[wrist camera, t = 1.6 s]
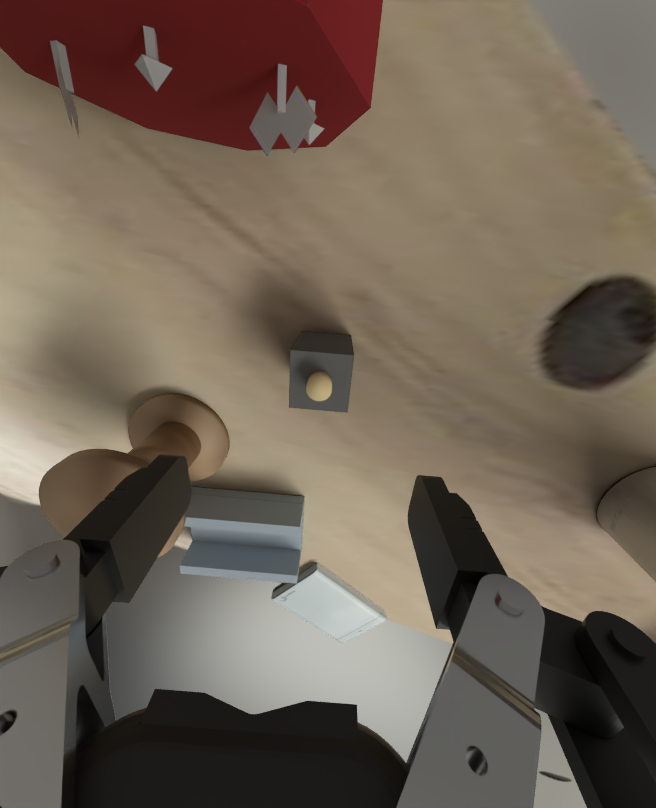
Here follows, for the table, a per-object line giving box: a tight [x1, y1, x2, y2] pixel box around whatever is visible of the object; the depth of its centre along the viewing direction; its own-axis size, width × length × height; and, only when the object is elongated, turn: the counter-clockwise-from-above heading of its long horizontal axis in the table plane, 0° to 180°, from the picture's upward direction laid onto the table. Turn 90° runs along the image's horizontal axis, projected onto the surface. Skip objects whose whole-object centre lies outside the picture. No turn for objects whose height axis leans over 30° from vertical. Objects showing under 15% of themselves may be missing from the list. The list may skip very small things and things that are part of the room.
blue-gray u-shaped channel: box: [180, 487, 304, 584], centre depth 31 cm, size 12×8×4 cm, turn 86°
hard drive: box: [272, 563, 387, 643], centre depth 38 cm, size 2×8×12 cm
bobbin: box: [39, 394, 229, 558], centre depth 24 cm, size 9×9×10 cm
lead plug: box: [289, 331, 354, 412], centre depth 22 cm, size 4×4×7 cm
